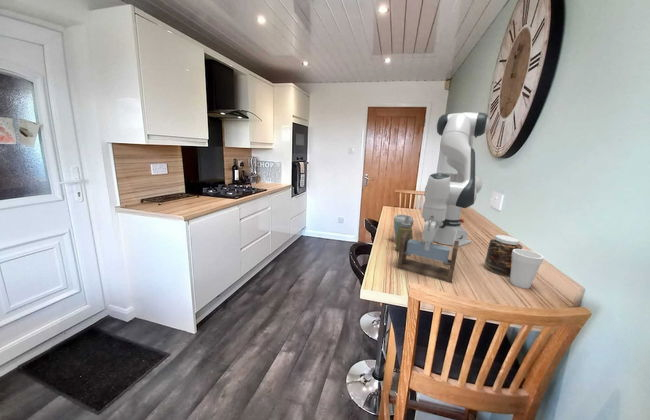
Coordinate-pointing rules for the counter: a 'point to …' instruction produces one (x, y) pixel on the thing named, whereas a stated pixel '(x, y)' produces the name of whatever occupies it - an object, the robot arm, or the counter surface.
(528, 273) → the foam cup
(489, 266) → the jar
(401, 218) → the disposable coffee cup
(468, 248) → the counter surface
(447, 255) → the grey block
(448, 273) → the shelf frame
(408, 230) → the squeeze bottle
